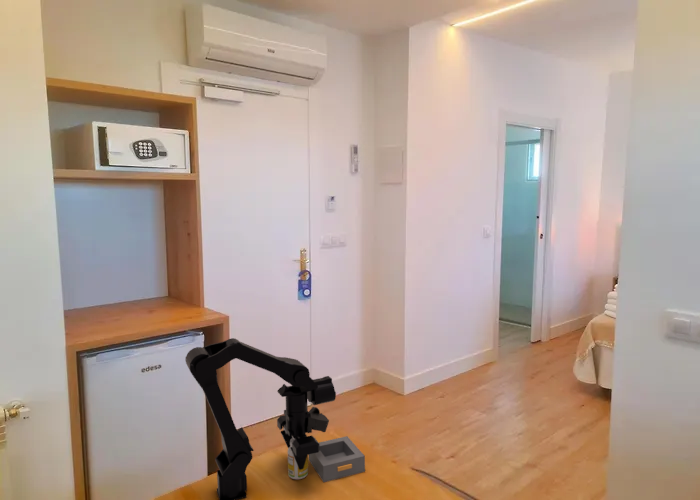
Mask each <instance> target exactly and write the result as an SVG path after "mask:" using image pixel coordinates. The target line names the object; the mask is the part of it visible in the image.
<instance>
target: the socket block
mask: <svg viewBox="0 0 700 500" xmlns="http://www.w3.org/2000/svg"><path fill="white" fill-rule="evenodd" d="M318 443H319V444H320V451H319V452H318V453H313V454H309V455H308V462H310V464H311V465H312V468H314V470H315V472H316V473H317V474H318V476H319V477H320V480H322V482H323V483H326V482H330V481H335V480H338V479H341V478H346V477H349V476H354V475H357V474H360V473H365V472H366V468H365V467H366V460H365V459H366V458H365V455H364V453H363V452H362V451H361V450H360V448H358V446H357V445H356V444H355V443H354V442H353V441H352V440H351V438H349V436H347V435H346V436H342V437H341V436H340V437H338V438H332V439H328V440H325V441H320V442H318Z"/></svg>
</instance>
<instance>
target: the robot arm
mask: <svg viewBox="0 0 700 500" xmlns="http://www.w3.org/2000/svg"><path fill="white" fill-rule="evenodd" d="M234 360H240V361H242V362H245V363H247V364H249V365H252V366H254V367H257V368H260V369H262V370H265V371H267V372H271V373H273V374H275V375H277V376H278V378H281V379H282V380H283V381H285V382H286V383H288V384H290V385H286V384H285V383H283V384H282V385H281V387H280V388H278V390H277V394H279V396H281V397H282V398H283V397H285V409H284V410H283V415H280V416H279V417H278V418H277V419H276V425H277V428H278V429H279V431H280V434H281V436H282V438H283V440H284V443H285V445H286V448H287V449H288V448H289V447H290V440H291V439H292V438H293V439H295V440H294V441H293V443H292V447H291V451H292V453H293V456H294V458H295V460H296V463H297V465H298V468H299V469H300V470H301V469H303V468H304V465H305V462H306V458H307V455H308V456H309V454H313V453H318V452H319V451H320V444H319V442H318V440H317V439H316V437H314V436H313V435H307V434H310V433H313V431H319V432H322V433H325V432H326V431H327V428H328V425H329V421H330V419H328V417H327V416H326V415H325V414H323V413H322V412H321V410H320V409H319V408H318V407H316V405H322V404H325V403H326V404H327V403H331V402H335V400H336V397H337V392H336V390H335V389H336V388H335V386H334V383H333V379H332V377H330V376H329V375H327V376H323V377H320V378H315V379H312V377H310V370H309V368H308V367H307V366H305V365H304V364H303V363H302V362H300V360H299V359H296V358H291V357H286V356H285V357H284V356H283V357H281V356H275V355H274V354H271V353H269V352H266V351H264V350H262V349H259V348H256V347H254V346H251V345H250V344H247V343H244V342H242V341H240V340H239V339H236V338H231V337H230V338H228V339H226V340H223V341H220V342H214V343H210V344H208V345H206V346H202V347H201V346H196V347H193V348H191V349H190V350H189V351H188V352H187V354H186V356H185V364H186V365H187V368H188V369H189V372H190V374H191V375H192V376H193V378H194V379H195V381H196V382H197V384H198V385H199V386H200V387H201V389H202V392H203V393H204V394H203V395H204V396H205V398H206V401H207V403H208V406H209V407H210V410H211V413H212V415H213V418H214V420H215V423H216V424H217V427H218V429H219V432H220V436H221V446H222V450H221V451H219V453H218V454H217V455H216V457H215V458H214V461H215V463H216V466H217V467H218V470H217V471H216V476H217V477H216V479H217V488H216V493H217V497H218V499H219V500H241V499H246V498H247V495H248V494H247V491H248V483H247V480H248V479H247V478H248V477H247V474H246V471H247V468H248V466H249V465H250V463H251V462H252V459H253V452H254V451H255V449H254V448H253V447H252V445H251V443H250V440H249V436H248V435H247V433H246V431H245V430H244V428H243V427H242V426H241V427H239V428H238V429H237V426H236V424H235V423H234V420H233V418H232V415H231V412H230V410H229V407H228V405H227V403H226V400H225V398H224V395H223V393H222V390H221V388H220V386H219V382H218V373H217V370H219V369H221V368H223V367H224V366H226V365H227V364H229V363H230V362H231V361H234ZM308 402H309V403H311V404H312V405H313V406H312V407H311V409H309V410H308ZM282 429H283V430H282ZM306 433H307V434H306Z"/></svg>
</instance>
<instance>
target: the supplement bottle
mask: <svg viewBox="0 0 700 500" xmlns="http://www.w3.org/2000/svg"><path fill="white" fill-rule="evenodd" d="M294 440H295V439H293V438H292V439H291V440H290V447H289V448H288V447H287V472H288V473H287V475H288V477H289V478H290V479H293V480H301V479H304V478H305V477H307V476H308V474H309V455H307V458H306V462H305V465H304V468H303V469H301V470H300V469H299V468H298V465H297V463H296V460H295V458H294V456H293V453H292V451H291V447H292V443H293V441H294Z"/></svg>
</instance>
